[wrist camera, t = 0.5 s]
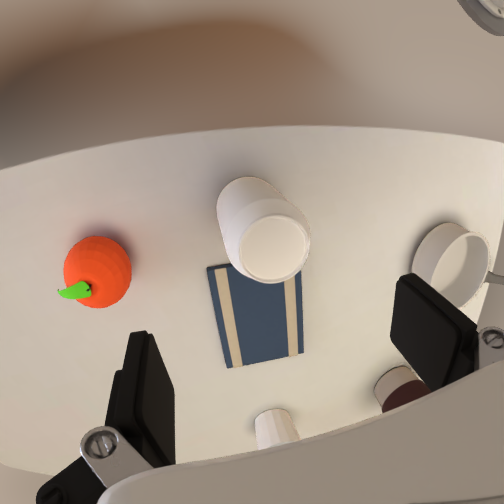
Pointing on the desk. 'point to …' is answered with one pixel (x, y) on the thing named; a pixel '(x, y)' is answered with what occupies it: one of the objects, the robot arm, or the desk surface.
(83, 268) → the clementine
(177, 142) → the desk surface
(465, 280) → the saucepan
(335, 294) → the desk surface
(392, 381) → the coffee cup
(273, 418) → the white candle
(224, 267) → the towel
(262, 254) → the beverage can
